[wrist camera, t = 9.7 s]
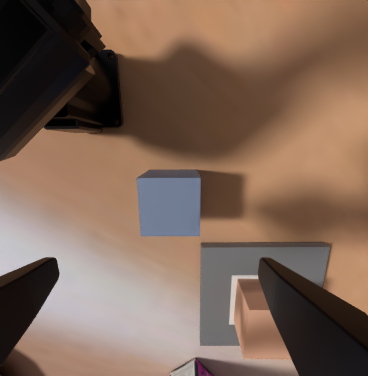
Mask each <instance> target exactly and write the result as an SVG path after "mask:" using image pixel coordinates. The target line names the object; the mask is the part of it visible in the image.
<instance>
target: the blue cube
mask: <svg viewBox="0 0 368 376" xmlns="http://www.w3.org/2000/svg"><path fill="white" fill-rule="evenodd" d="M137 187H138V202H139V217H140V231H141V236H200V188H201V177H200V175H199V173H198V171H197V170H148V171H147V172H145V173H144V174H142V175H141V176H139V177H138V178H137Z"/></svg>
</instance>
